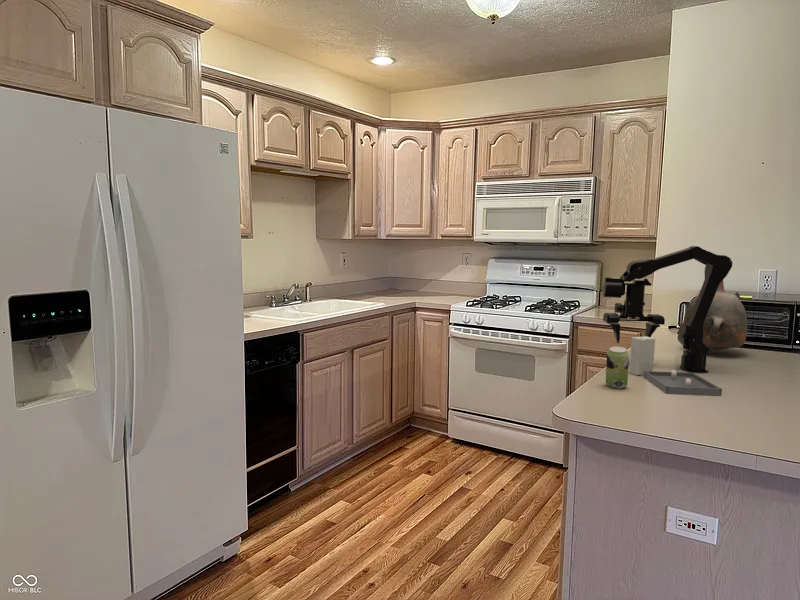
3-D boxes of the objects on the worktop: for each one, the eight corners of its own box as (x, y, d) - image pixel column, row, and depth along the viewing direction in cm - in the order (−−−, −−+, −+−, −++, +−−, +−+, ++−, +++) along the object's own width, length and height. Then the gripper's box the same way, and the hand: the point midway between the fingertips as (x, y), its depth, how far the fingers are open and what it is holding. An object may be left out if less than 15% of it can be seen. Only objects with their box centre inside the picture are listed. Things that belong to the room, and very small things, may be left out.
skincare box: (643, 371, 178) (645, 335, 177) (653, 375, 174) (656, 338, 173) (628, 372, 176) (630, 336, 175) (638, 376, 172) (640, 339, 171)
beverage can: (626, 384, 162) (629, 345, 161) (628, 391, 155) (631, 350, 154) (604, 382, 164) (606, 344, 163) (605, 389, 157) (607, 348, 156)
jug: (760, 360, 197) (768, 279, 194) (701, 359, 198) (708, 278, 194) (721, 346, 222) (728, 274, 218) (669, 345, 222) (674, 273, 218)
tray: (692, 378, 170) (693, 368, 170) (721, 395, 152) (722, 383, 152) (643, 377, 171) (644, 366, 171) (666, 393, 154) (667, 381, 153)
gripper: (654, 296, 190) (651, 339, 192) (600, 295, 191) (597, 338, 193) (667, 300, 179) (663, 346, 181) (609, 298, 180) (606, 344, 182)
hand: (631, 343), depth 185 cm, fingers open, 9 cm apart
